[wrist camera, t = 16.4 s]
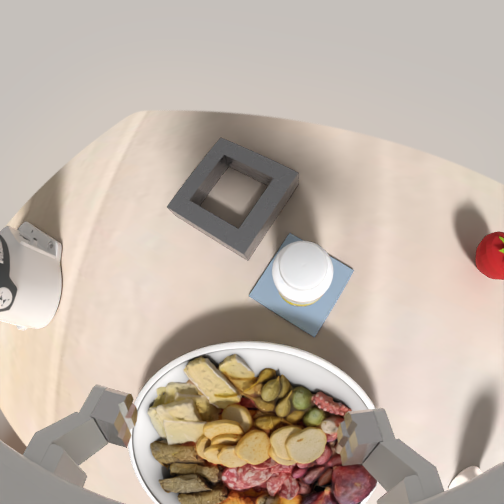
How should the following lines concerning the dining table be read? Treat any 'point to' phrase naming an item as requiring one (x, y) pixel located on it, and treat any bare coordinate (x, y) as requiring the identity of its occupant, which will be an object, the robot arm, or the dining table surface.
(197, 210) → the socket housing
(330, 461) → the bowl
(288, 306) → the pad
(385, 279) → the dining table surface
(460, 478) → the beer glass
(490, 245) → the strawberry
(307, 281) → the supplement bottle
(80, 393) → the dining table surface
